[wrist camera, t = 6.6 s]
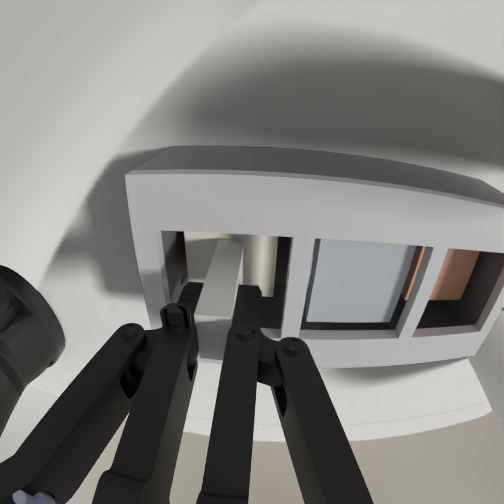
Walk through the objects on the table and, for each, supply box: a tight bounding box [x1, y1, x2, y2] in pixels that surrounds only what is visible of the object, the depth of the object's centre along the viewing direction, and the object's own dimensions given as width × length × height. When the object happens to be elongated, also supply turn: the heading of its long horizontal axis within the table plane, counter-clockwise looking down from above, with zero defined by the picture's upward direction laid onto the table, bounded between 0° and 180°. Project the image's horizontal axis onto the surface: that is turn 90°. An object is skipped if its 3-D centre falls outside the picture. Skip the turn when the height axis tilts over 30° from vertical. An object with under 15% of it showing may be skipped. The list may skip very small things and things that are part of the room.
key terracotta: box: [401, 246, 480, 300], centre depth 19 cm, size 6×6×4 cm
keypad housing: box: [125, 146, 504, 368], centre depth 18 cm, size 24×12×8 cm, turn 88°
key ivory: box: [184, 231, 278, 297], centre depth 19 cm, size 6×6×4 cm
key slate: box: [305, 238, 416, 322], centre depth 17 cm, size 6×6×4 cm
